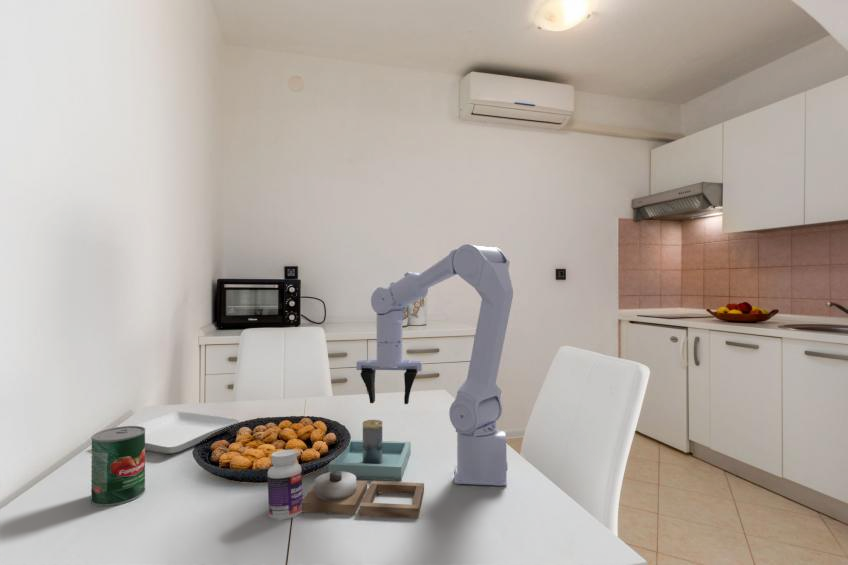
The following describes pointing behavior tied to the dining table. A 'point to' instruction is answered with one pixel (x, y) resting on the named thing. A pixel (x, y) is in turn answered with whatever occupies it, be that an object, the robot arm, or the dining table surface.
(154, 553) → the dining table surface
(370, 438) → the tin can
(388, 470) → the tray
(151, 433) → the salad plate
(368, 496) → the block
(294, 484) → the pill bottle
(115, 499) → the canned tomato
